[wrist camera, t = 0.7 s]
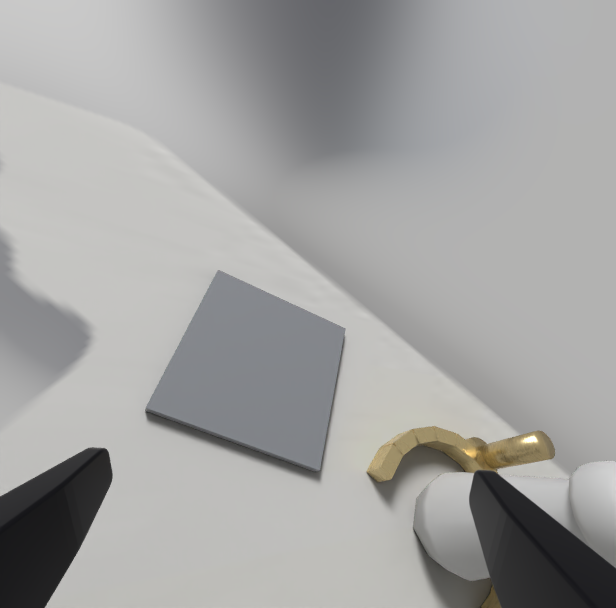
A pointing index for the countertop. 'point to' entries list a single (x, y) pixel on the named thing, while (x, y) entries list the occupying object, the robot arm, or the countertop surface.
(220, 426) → the coaster
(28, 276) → the countertop surface
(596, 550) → the salt shaker
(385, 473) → the gold curved piece
